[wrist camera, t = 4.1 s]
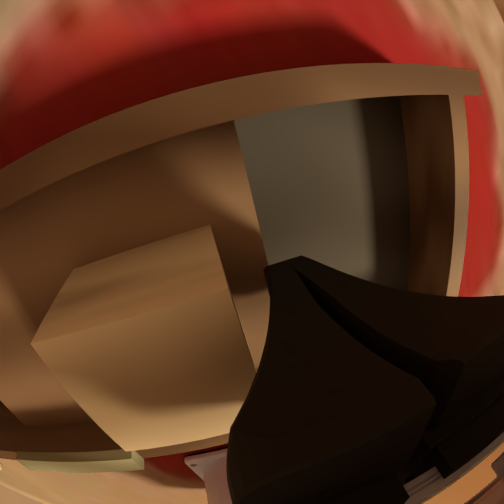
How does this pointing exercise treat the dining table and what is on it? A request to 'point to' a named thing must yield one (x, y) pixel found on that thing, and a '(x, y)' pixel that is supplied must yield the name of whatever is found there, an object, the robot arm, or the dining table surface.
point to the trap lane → (231, 212)
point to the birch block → (151, 343)
